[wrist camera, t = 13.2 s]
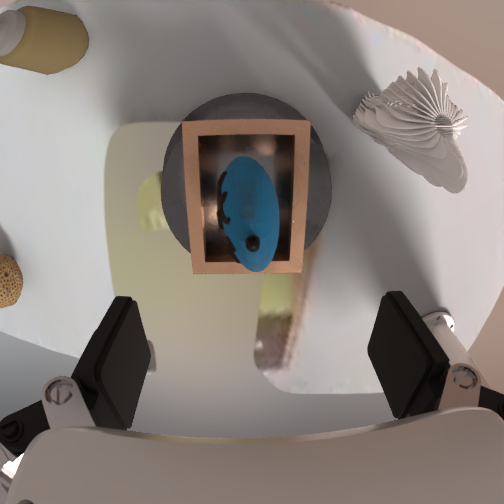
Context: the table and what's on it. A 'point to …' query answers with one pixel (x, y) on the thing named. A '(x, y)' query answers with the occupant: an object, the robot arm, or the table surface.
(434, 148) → the shell sculpture
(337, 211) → the table surface
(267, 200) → the ornament
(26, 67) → the squeeze bottle
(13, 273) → the natural sponge
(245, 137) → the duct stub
